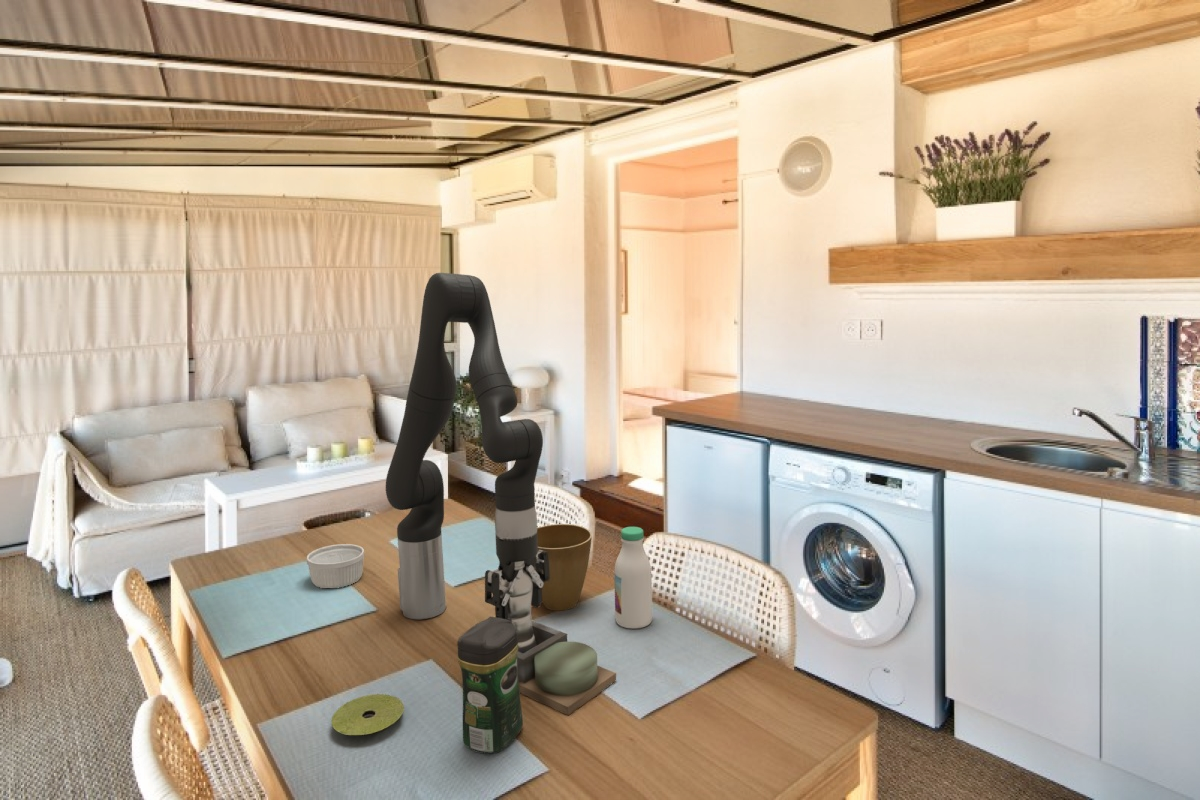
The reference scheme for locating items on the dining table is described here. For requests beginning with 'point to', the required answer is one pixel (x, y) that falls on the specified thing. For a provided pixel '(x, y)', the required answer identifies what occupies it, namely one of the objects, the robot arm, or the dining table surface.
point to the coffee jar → (490, 685)
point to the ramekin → (336, 565)
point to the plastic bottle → (521, 609)
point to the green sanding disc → (367, 714)
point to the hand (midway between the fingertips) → (519, 614)
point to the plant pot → (564, 563)
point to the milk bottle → (633, 581)
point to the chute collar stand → (560, 671)
